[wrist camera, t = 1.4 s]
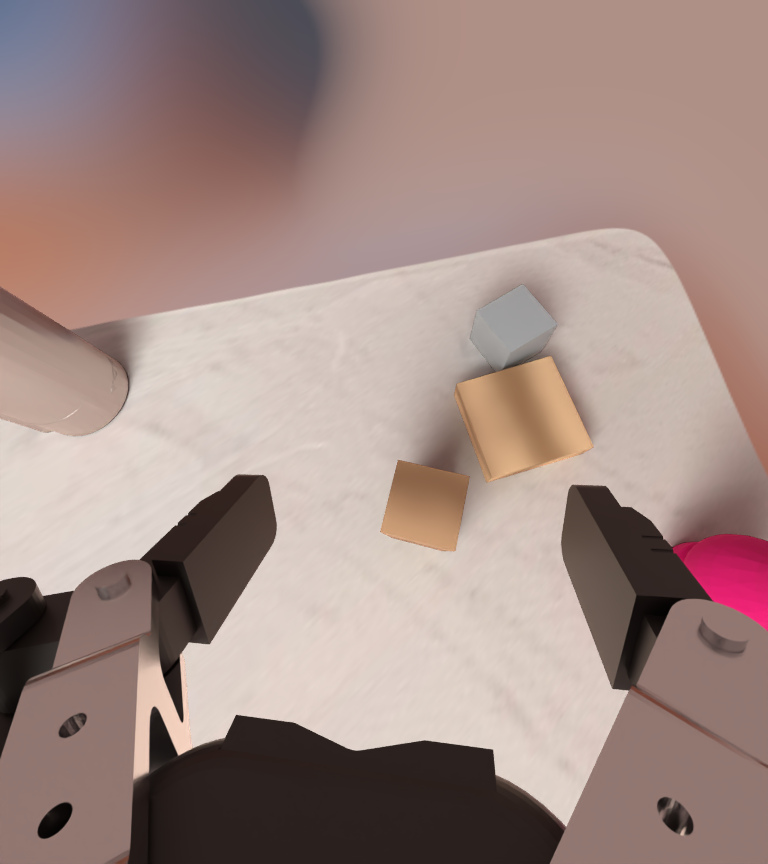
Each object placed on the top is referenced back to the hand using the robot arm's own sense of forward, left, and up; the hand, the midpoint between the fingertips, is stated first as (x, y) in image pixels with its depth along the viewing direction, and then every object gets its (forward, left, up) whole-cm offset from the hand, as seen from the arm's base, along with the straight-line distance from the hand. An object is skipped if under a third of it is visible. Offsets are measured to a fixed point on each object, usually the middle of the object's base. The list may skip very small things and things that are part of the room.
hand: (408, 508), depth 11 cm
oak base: (+12, +7, -26) cm, 29 cm away
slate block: (+14, +15, -25) cm, 33 cm away
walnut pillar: (+1, +1, -25) cm, 25 cm away
